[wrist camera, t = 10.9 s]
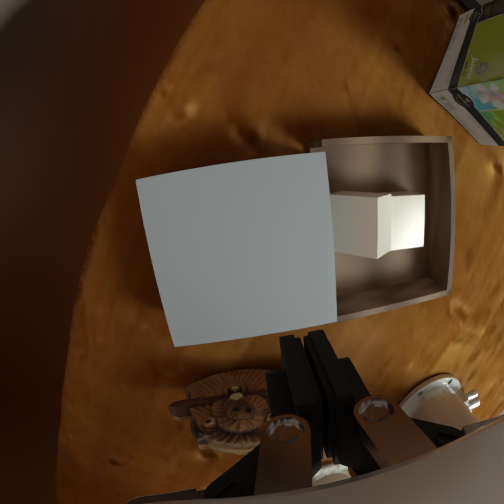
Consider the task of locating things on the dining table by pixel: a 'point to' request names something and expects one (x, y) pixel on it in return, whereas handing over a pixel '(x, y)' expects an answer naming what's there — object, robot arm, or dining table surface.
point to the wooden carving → (226, 410)
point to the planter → (475, 3)
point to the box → (395, 180)
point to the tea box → (475, 73)
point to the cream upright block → (361, 223)
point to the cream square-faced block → (407, 220)
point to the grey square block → (242, 247)
